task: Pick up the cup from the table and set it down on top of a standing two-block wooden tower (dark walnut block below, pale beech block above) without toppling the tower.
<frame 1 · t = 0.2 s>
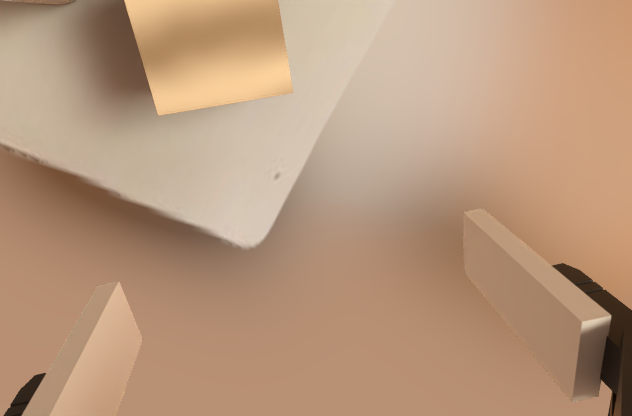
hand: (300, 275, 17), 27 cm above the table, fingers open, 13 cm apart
beech block: (217, 29, 33), point 6 cm above the table, touching walnut block
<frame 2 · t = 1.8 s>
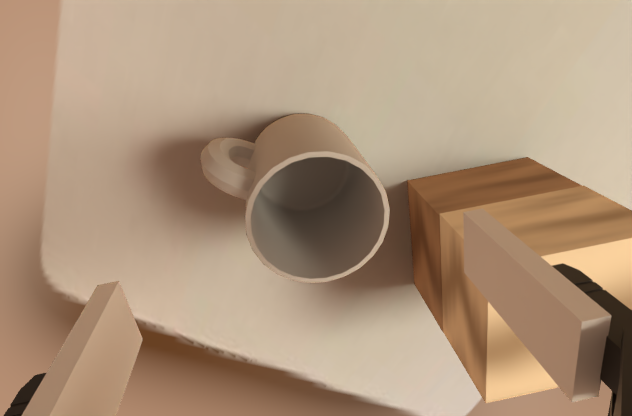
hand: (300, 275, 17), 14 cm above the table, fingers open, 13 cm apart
cup: (282, 156, 29), on the table
walnut block: (467, 223, 33), on the table, touching beech block
beech block: (509, 262, 28), point 6 cm above the table, touching walnut block
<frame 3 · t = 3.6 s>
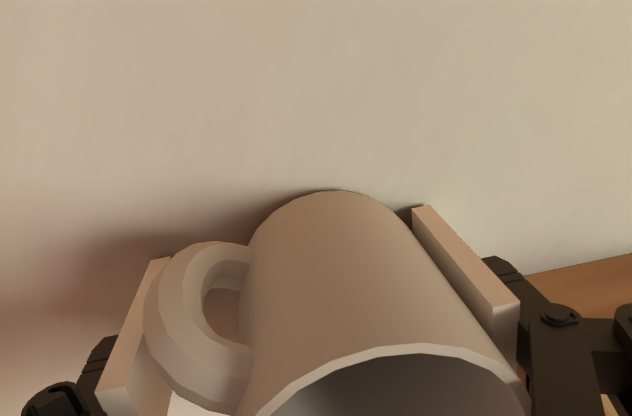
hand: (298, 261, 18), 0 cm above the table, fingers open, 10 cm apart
cup: (297, 255, 18), on the table, touching gripper
walnut block: (576, 336, 22), on the table, touching beech block
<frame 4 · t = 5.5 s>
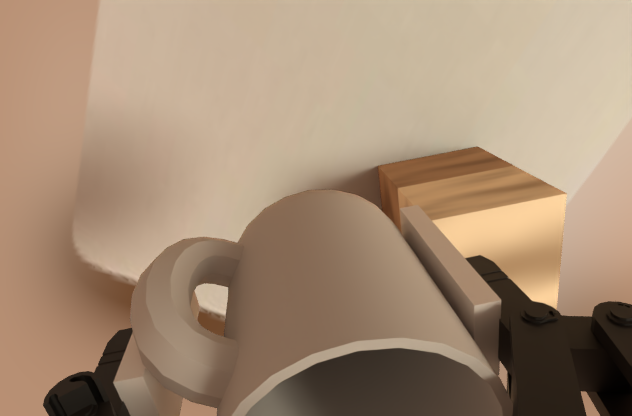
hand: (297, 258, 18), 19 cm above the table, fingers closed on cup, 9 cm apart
cup: (287, 252, 18), point 19 cm above the table, touching gripper
walnut block: (429, 202, 40), on the table, touching beech block
beech block: (457, 230, 34), point 6 cm above the table, touching walnut block
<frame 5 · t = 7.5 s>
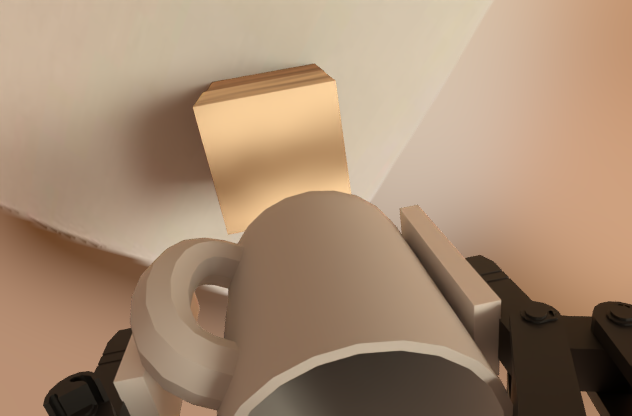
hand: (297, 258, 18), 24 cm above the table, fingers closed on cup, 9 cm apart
cup: (287, 253, 18), point 24 cm above the table, touching gripper
walnut block: (273, 123, 40), on the table, touching beech block
beech block: (274, 139, 34), point 6 cm above the table, touching walnut block
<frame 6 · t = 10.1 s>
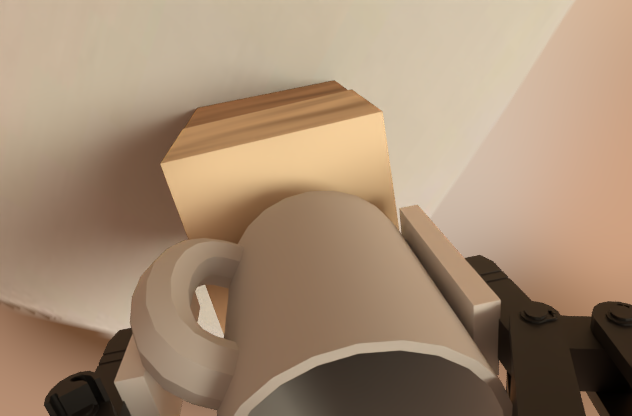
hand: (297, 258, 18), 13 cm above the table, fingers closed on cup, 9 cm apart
cup: (287, 253, 18), point 13 cm above the table, touching gripper
walnut block: (280, 159, 30), on the table, touching beech block
beech block: (287, 187, 25), point 6 cm above the table, touching walnut block
when the fingers open (13 cm above the table, at t = 10.2 s): cup drops 1 cm, resting on beech block.
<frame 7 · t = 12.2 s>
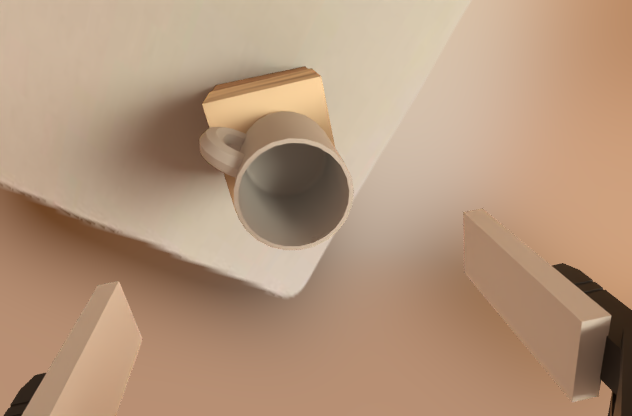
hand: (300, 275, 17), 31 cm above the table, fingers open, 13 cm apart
cup: (269, 148, 34), point 12 cm above the table, touching beech block
walnut block: (270, 119, 45), on the table, touching beech block
beech block: (273, 130, 39), point 6 cm above the table, touching cup, walnut block
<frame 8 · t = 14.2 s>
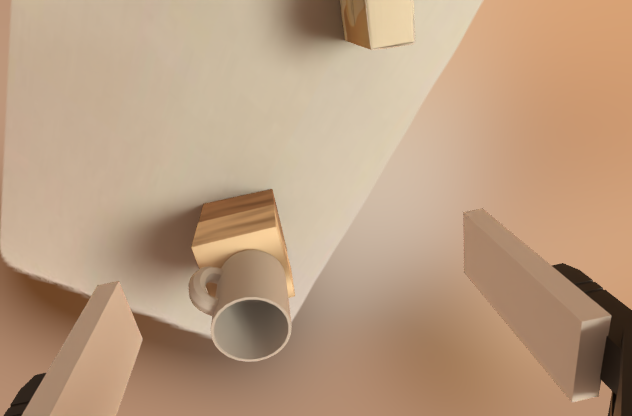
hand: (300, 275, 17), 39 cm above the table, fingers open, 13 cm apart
skincare box: (359, 11, 49), on the table
cup: (240, 271, 47), point 12 cm above the table, touching beech block
walnut block: (246, 226, 58), on the table, touching beech block
beech block: (246, 246, 53), point 6 cm above the table, touching cup, walnut block
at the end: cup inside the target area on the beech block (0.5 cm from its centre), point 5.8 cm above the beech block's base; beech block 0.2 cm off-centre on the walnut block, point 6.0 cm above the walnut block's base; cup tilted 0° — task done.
